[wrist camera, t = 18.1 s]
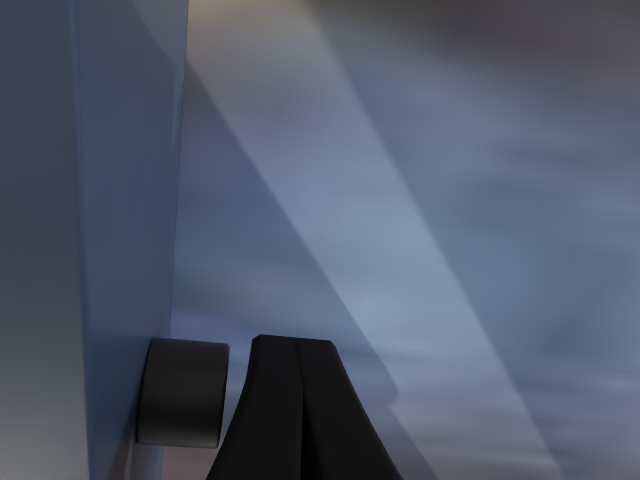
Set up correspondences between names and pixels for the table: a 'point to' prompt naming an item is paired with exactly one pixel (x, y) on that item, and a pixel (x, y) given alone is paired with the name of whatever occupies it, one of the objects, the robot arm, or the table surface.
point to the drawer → (95, 244)
